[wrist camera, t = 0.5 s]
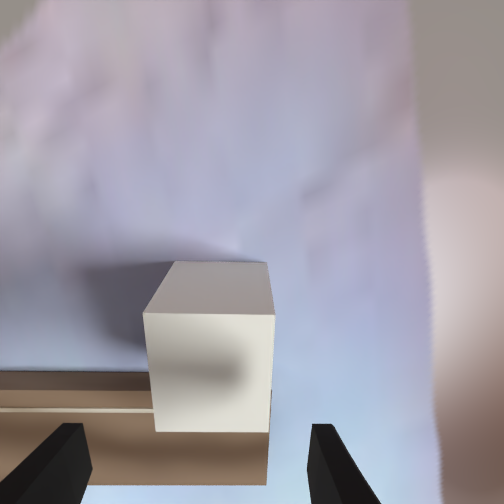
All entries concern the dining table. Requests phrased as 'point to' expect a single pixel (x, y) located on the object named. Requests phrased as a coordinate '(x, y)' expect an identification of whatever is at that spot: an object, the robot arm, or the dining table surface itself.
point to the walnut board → (121, 431)
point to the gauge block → (211, 347)
